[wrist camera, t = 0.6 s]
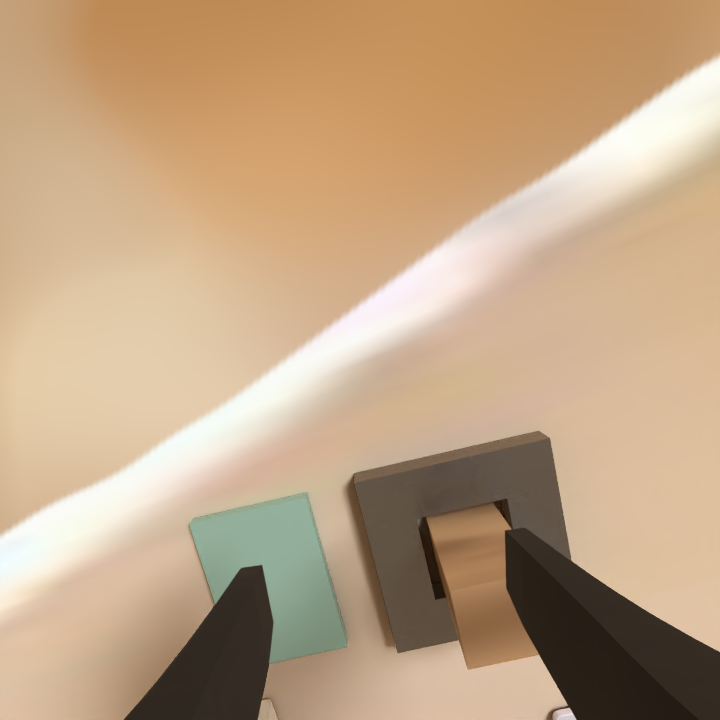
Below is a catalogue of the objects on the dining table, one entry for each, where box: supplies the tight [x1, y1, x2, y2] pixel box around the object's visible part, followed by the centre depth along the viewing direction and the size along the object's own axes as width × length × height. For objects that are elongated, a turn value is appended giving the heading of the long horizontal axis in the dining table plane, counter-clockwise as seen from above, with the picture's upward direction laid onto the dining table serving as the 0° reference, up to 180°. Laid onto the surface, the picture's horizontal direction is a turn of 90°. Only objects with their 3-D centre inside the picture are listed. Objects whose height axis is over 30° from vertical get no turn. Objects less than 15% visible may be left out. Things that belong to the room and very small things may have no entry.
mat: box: [189, 493, 347, 664], centre depth 22 cm, size 10×7×1 cm
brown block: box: [426, 502, 539, 670], centre depth 19 cm, size 4×4×6 cm
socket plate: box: [354, 431, 571, 653], centre depth 21 cm, size 11×11×1 cm
